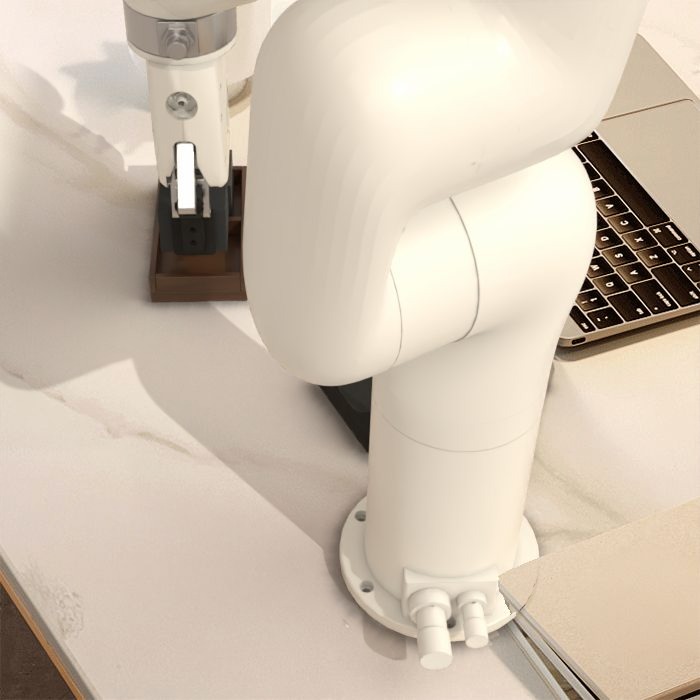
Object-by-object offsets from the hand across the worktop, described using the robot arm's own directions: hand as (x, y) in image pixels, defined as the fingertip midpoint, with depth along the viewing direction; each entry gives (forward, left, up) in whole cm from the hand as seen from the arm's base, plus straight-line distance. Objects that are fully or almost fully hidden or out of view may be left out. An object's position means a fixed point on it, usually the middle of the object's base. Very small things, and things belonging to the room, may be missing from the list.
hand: (196, 226), depth 98 cm
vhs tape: (-14, -17, -5) cm, 22 cm away
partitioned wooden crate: (+3, 0, -4) cm, 5 cm away
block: (0, 0, 0) cm, 0 cm away
